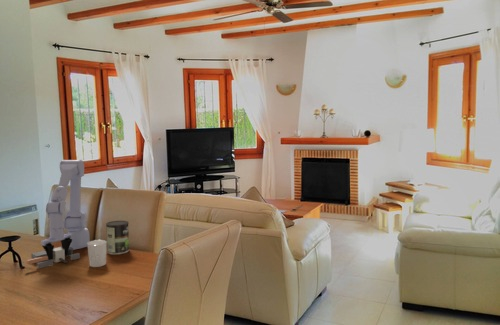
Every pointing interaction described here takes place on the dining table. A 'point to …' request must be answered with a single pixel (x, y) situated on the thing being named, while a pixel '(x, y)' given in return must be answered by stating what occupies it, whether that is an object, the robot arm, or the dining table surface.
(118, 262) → the dining table surface
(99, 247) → the white cup
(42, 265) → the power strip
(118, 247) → the coffee can
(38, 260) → the latch
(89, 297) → the dining table surface
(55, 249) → the plug
